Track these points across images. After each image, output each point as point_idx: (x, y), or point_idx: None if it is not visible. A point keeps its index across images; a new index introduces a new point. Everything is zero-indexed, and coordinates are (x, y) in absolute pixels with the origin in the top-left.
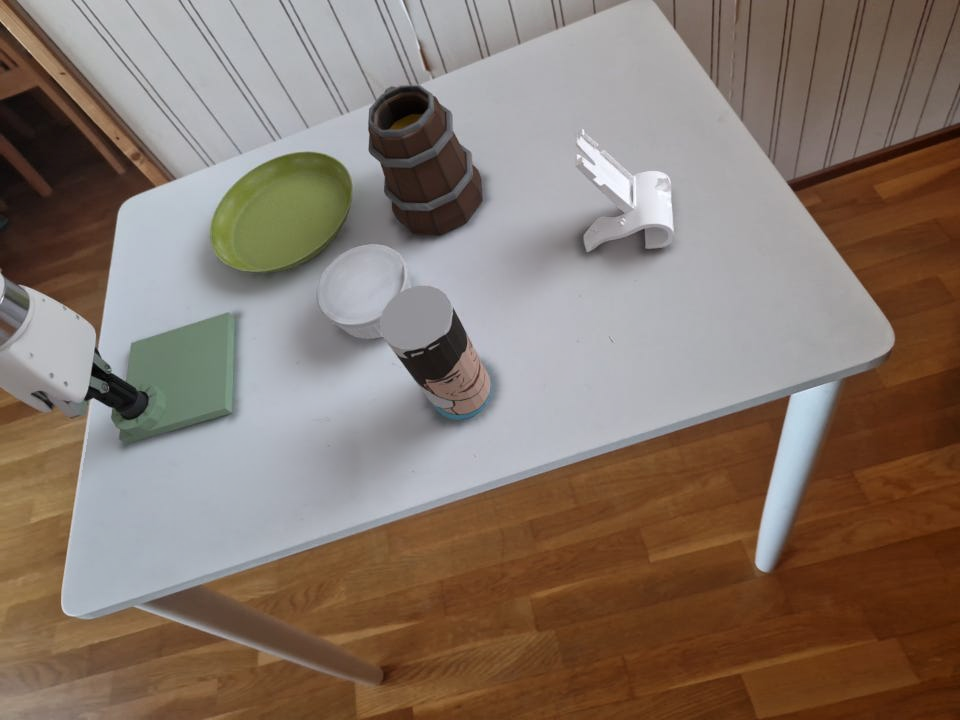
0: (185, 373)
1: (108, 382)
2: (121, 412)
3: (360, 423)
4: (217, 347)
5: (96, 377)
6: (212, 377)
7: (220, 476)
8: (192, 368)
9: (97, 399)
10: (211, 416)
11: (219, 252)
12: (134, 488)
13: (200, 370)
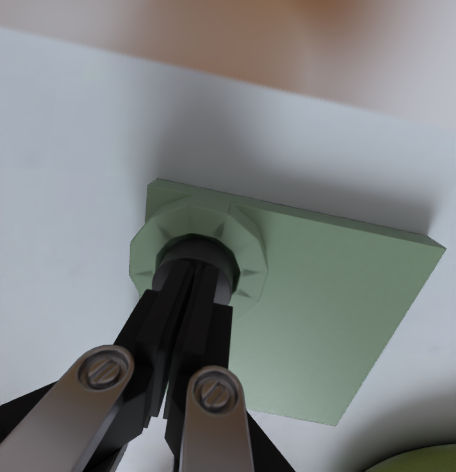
0: (247, 347)
1: (156, 411)
2: (154, 275)
3: None
4: (269, 399)
5: (170, 427)
6: None
7: (33, 334)
8: (252, 358)
9: (117, 339)
10: None
11: None
12: (38, 185)
13: (237, 369)
